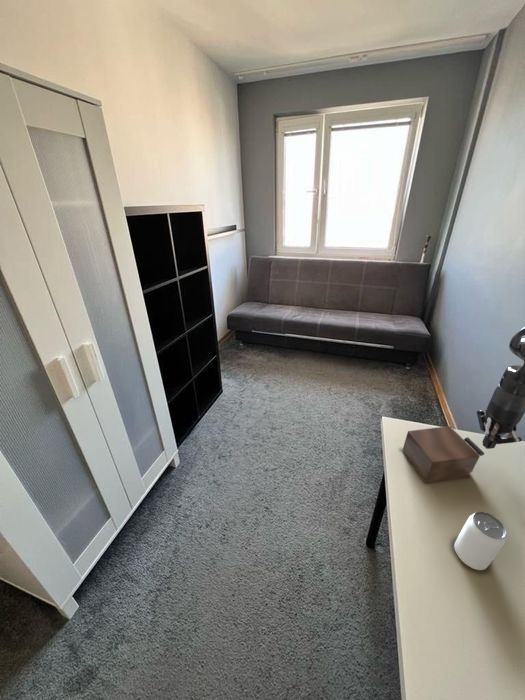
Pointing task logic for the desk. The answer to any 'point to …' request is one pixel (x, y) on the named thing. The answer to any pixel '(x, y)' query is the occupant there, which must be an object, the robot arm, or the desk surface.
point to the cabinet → (439, 454)
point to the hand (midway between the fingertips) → (487, 446)
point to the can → (480, 540)
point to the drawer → (473, 445)
